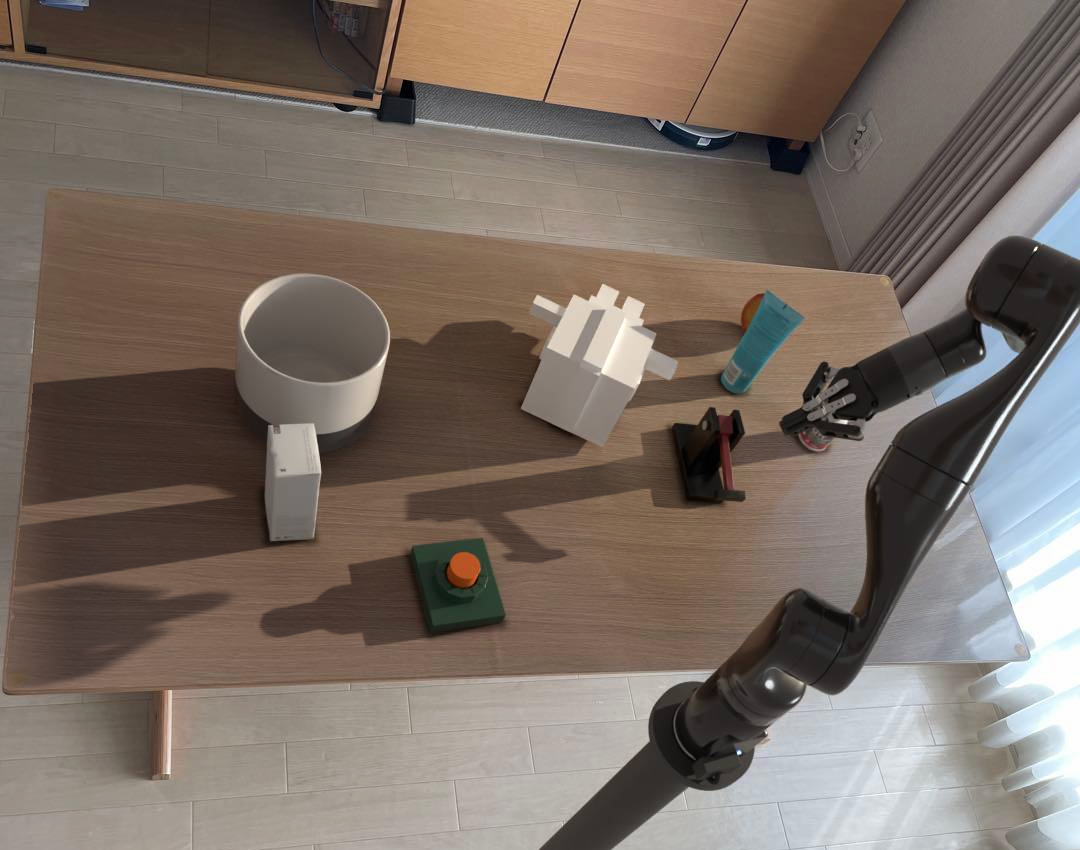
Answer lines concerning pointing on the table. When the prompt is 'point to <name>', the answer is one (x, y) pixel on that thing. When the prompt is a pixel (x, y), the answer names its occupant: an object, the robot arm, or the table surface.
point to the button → (463, 570)
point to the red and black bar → (727, 463)
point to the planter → (310, 358)
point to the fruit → (750, 310)
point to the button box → (452, 603)
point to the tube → (760, 342)
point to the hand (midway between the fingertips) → (782, 429)
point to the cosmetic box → (292, 481)
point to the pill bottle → (816, 438)
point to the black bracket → (703, 454)
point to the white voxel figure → (592, 363)
